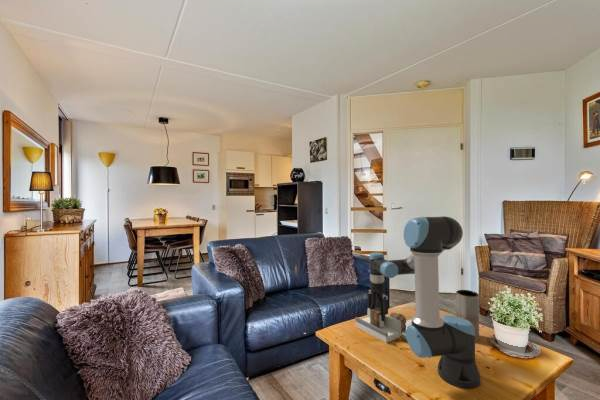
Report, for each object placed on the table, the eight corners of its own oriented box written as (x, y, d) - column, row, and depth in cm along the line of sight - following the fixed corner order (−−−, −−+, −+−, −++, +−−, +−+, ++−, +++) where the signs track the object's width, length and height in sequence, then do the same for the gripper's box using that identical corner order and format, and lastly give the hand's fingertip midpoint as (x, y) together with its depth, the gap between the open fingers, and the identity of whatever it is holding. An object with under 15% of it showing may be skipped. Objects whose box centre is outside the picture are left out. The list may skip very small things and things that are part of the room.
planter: (482, 342, 142) (482, 296, 141) (461, 340, 143) (460, 295, 143) (473, 332, 151) (473, 290, 151) (453, 331, 153) (453, 289, 153)
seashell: (381, 323, 162) (389, 307, 164) (393, 329, 165) (400, 313, 166) (393, 331, 152) (401, 314, 154) (405, 337, 155) (413, 320, 156)
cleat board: (401, 336, 148) (401, 321, 148) (386, 342, 142) (386, 327, 142) (370, 321, 167) (369, 307, 167) (355, 326, 161) (355, 312, 161)
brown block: (385, 325, 154) (384, 310, 154) (376, 328, 150) (375, 313, 150) (378, 321, 158) (377, 307, 158) (369, 325, 155) (368, 310, 155)
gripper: (395, 284, 149) (395, 328, 149) (369, 276, 164) (370, 316, 164) (385, 287, 145) (386, 332, 145) (360, 278, 160) (360, 320, 160)
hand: (377, 324), depth 155 cm, fingers closed on brown block, 5 cm apart
